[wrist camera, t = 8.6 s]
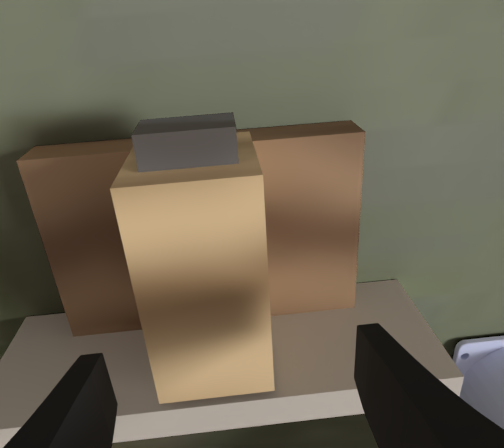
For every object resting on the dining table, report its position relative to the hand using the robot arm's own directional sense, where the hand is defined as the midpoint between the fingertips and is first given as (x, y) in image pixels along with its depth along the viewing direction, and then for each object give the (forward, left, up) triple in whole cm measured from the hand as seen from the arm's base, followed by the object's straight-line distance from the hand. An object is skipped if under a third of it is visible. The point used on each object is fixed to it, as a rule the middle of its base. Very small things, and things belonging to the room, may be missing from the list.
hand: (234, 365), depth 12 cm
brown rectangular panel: (0, +1, -10) cm, 10 cm away
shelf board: (-6, +1, -10) cm, 11 cm away
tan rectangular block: (0, +1, -8) cm, 8 cm away
